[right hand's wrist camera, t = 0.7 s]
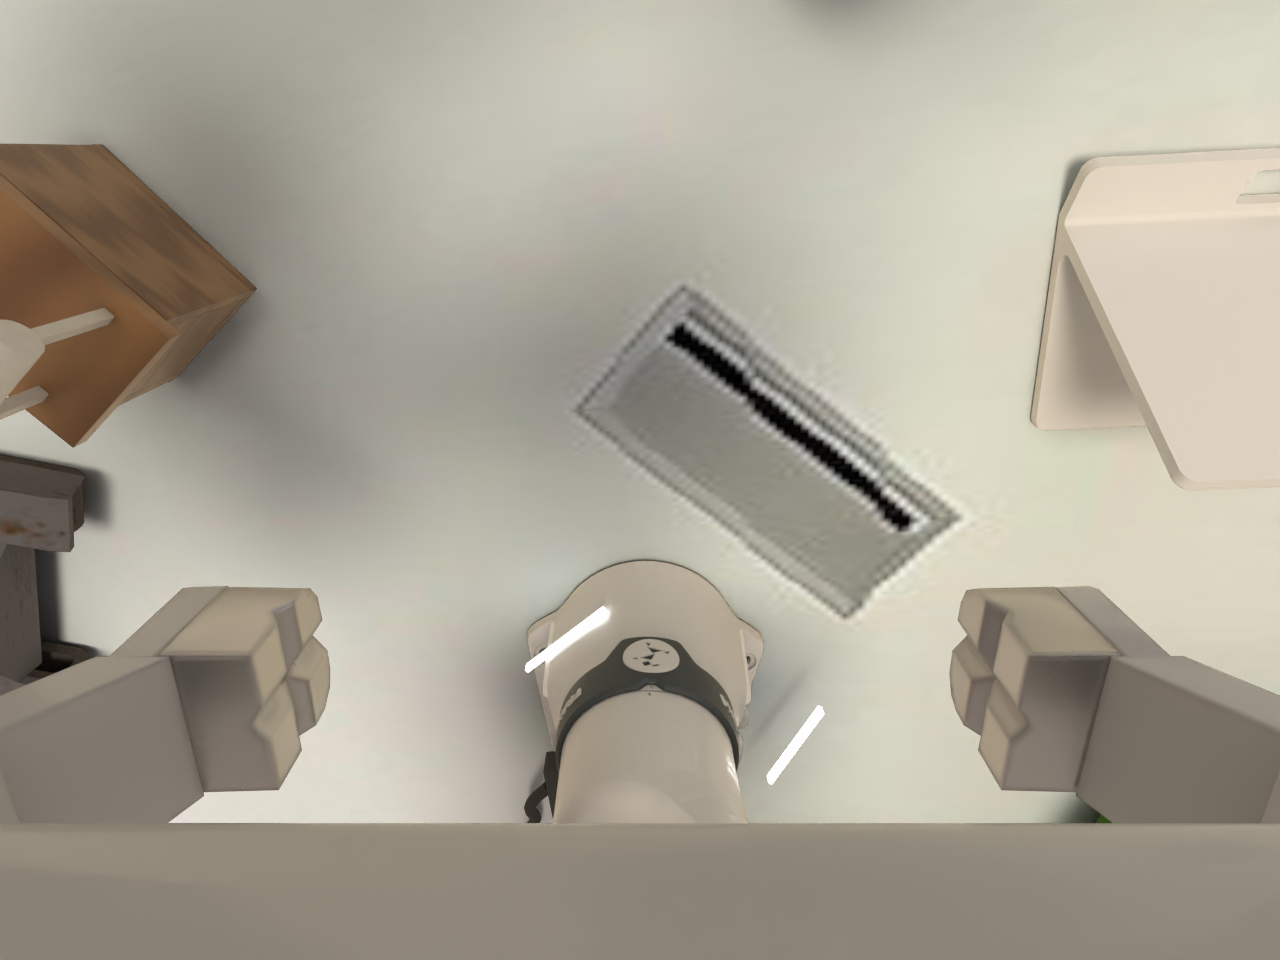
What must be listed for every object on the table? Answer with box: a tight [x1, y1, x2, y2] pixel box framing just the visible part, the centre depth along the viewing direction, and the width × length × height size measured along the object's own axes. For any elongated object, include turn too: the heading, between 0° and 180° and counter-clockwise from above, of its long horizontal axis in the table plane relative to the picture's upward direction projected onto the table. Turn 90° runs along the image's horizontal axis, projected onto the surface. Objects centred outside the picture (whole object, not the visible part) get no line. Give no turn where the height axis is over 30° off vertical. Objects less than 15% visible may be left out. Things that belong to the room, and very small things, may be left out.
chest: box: [0, 144, 257, 406], centre depth 49 cm, size 12×9×11 cm
